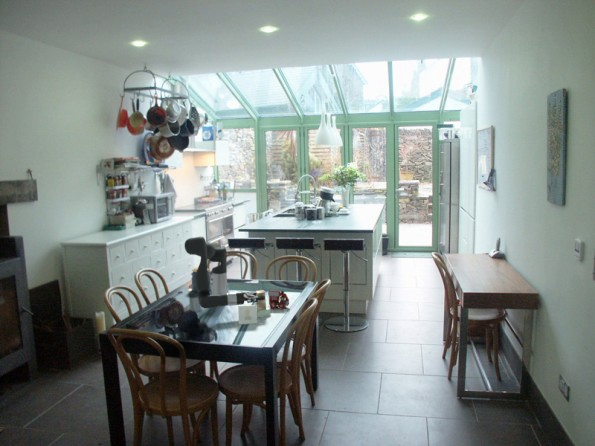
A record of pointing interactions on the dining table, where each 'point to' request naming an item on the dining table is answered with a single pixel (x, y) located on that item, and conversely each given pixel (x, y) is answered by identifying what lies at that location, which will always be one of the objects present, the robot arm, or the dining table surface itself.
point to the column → (261, 303)
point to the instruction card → (247, 314)
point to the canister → (194, 286)
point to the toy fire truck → (275, 297)
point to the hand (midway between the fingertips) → (263, 295)
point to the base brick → (263, 312)
